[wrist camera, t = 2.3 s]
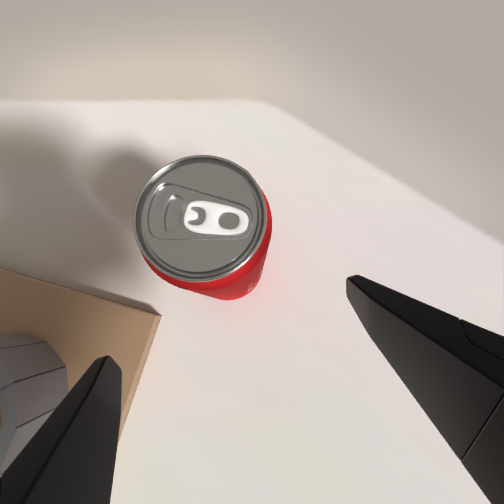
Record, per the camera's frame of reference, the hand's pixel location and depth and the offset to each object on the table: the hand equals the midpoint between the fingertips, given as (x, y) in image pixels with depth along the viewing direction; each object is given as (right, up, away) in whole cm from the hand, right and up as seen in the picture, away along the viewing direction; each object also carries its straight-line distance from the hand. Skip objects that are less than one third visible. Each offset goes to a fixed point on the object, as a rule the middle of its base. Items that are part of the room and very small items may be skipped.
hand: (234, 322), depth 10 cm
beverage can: (-1, +1, +11) cm, 12 cm away
